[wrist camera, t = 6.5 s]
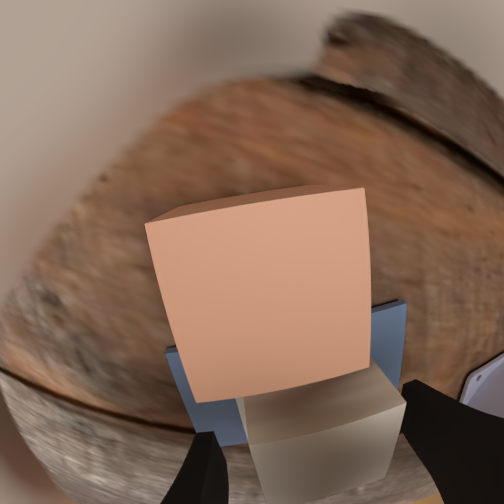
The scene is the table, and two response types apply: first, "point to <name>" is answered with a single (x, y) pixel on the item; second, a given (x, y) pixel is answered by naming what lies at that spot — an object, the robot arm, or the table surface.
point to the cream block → (324, 435)
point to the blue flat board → (232, 410)
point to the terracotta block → (266, 288)
